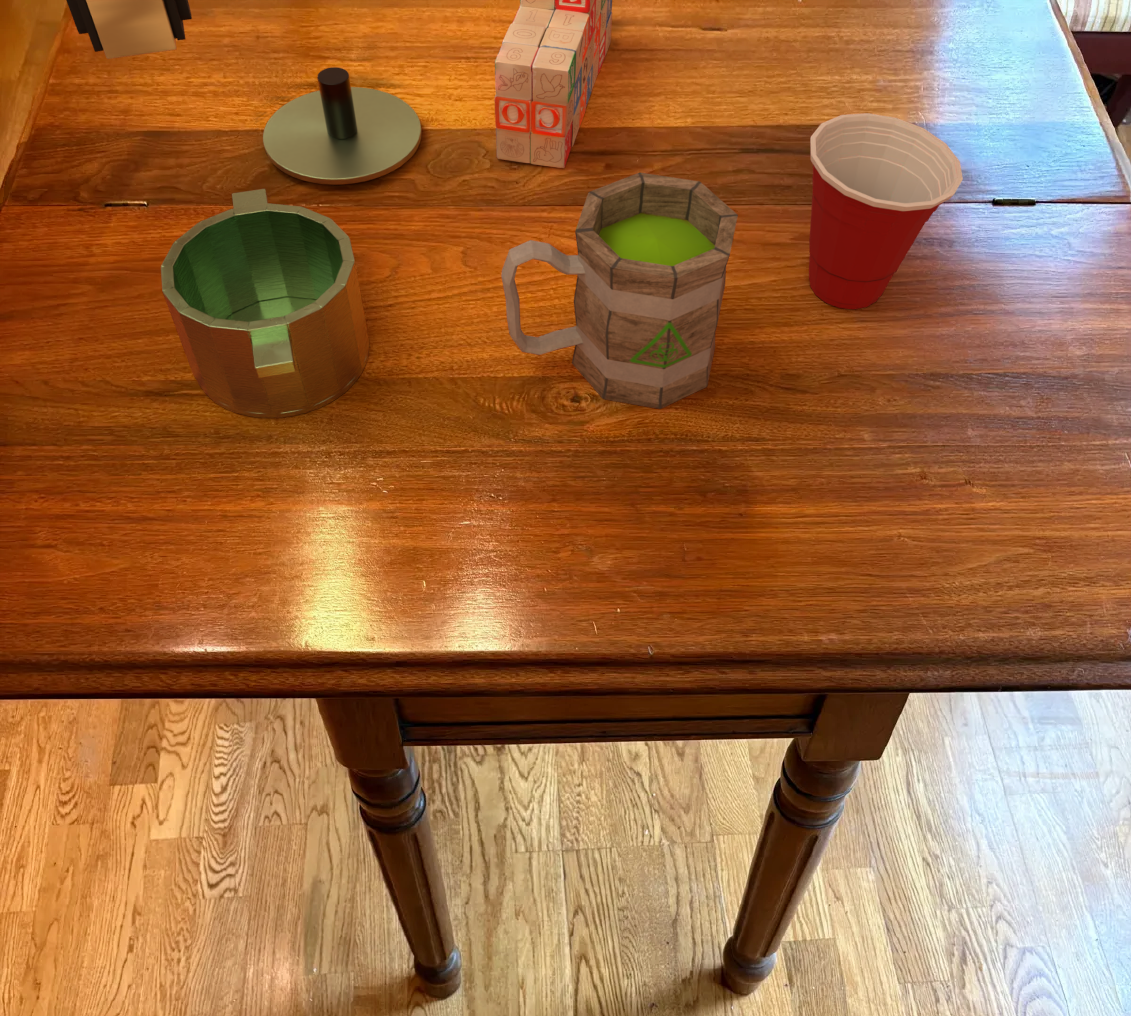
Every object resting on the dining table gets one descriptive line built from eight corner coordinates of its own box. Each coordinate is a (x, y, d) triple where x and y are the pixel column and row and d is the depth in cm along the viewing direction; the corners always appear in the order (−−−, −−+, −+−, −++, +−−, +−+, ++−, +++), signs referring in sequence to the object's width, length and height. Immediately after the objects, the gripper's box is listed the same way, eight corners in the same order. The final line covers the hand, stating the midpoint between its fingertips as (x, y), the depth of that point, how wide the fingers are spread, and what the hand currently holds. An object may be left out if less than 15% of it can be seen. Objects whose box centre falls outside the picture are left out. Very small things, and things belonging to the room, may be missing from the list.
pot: (202, 462, 73) (167, 374, 66) (187, 287, 83) (155, 195, 76) (388, 428, 75) (372, 339, 68) (350, 261, 85) (334, 169, 78)
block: (106, 59, 71) (83, -8, 67) (104, 24, 73) (81, -42, 70) (177, 50, 72) (157, -17, 68) (172, 16, 74) (153, -51, 71)
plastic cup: (934, 331, 82) (987, 199, 72) (793, 336, 81) (827, 204, 71) (898, 238, 88) (942, 106, 78) (767, 242, 87) (795, 109, 78)
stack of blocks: (566, 171, 93) (569, 35, 83) (495, 161, 93) (489, 25, 83) (611, 41, 105) (618, -91, 95) (548, 33, 106) (549, -99, 96)
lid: (274, 201, 89) (257, 134, 84) (258, 109, 97) (242, 42, 92) (435, 177, 92) (429, 110, 87) (407, 89, 100) (400, 23, 94)
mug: (697, 298, 83) (717, 165, 74) (734, 400, 77) (761, 269, 67) (495, 319, 81) (488, 186, 72) (515, 426, 75) (511, 295, 65)
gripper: (191, -325, 61) (260, -9, 76) (-127, -299, 58) (8, 24, 73) (201, -278, 57) (273, 47, 72) (-141, -248, 54) (6, 84, 69)
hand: (138, 32), depth 72 cm, fingers closed on block, 4 cm apart
